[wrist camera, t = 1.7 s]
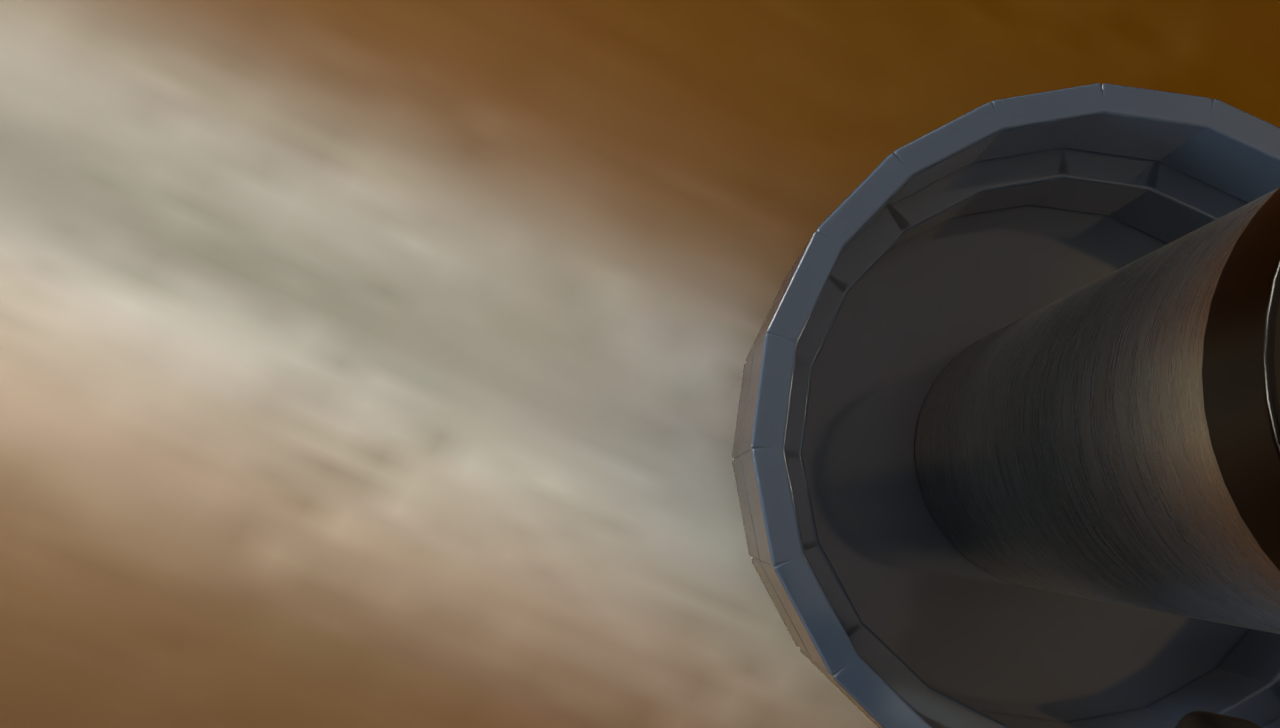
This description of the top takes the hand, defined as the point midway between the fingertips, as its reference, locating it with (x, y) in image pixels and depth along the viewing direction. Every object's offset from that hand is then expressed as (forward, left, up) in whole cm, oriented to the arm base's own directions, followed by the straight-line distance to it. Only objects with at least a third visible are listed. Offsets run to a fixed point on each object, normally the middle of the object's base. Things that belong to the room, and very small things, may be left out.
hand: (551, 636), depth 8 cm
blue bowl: (+6, -7, -15) cm, 18 cm away
